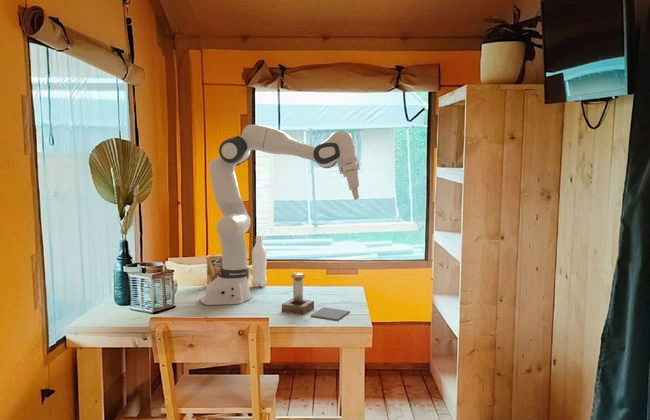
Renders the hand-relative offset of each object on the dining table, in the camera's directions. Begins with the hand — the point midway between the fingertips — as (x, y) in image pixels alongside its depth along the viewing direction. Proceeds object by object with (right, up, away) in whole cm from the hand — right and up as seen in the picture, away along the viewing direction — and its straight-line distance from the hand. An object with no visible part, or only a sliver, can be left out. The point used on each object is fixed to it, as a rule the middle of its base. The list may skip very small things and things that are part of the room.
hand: (356, 199), depth 224 cm
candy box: (-67, -42, +34) cm, 86 cm away
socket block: (-25, -47, -4) cm, 53 cm away
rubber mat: (-11, -47, -11) cm, 50 cm away
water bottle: (-46, -42, +34) cm, 71 cm away
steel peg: (-25, -47, -4) cm, 53 cm away
